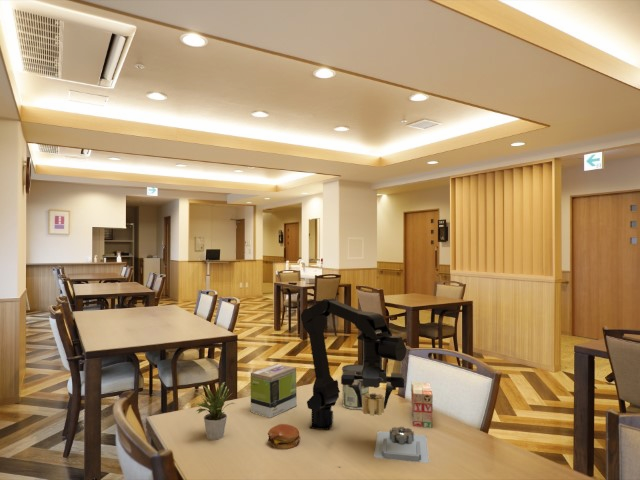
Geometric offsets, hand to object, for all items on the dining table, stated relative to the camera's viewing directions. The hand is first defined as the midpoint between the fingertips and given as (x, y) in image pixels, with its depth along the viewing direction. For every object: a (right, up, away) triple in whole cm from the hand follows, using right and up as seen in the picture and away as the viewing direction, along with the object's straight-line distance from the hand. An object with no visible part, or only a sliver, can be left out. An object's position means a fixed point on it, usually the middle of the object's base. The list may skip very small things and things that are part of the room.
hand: (373, 407), depth 132 cm
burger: (-27, -12, +2) cm, 30 cm away
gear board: (+8, -11, -3) cm, 14 cm away
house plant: (-50, -11, +7) cm, 51 cm away
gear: (+9, -10, +2) cm, 14 cm away
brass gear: (0, -1, 0) cm, 1 cm away
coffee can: (-3, -12, +34) cm, 37 cm away
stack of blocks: (+20, -12, +22) cm, 32 cm away
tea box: (-33, -12, +29) cm, 46 cm away
